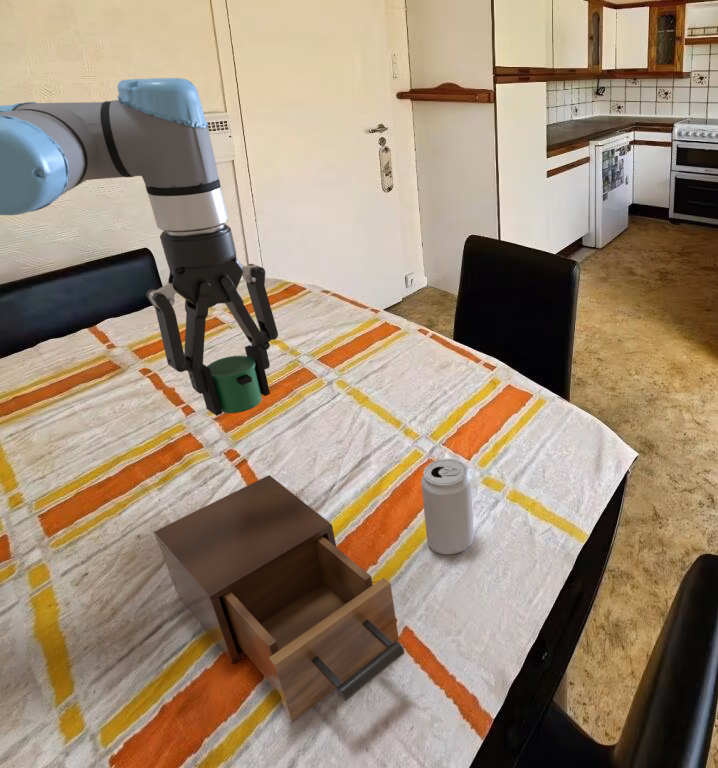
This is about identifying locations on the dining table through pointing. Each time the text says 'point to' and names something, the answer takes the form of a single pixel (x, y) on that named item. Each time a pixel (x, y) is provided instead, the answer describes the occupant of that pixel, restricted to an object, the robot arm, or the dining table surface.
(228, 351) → the dining table surface
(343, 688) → the drawer
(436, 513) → the beverage can
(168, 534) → the cabinet
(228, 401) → the green cup
